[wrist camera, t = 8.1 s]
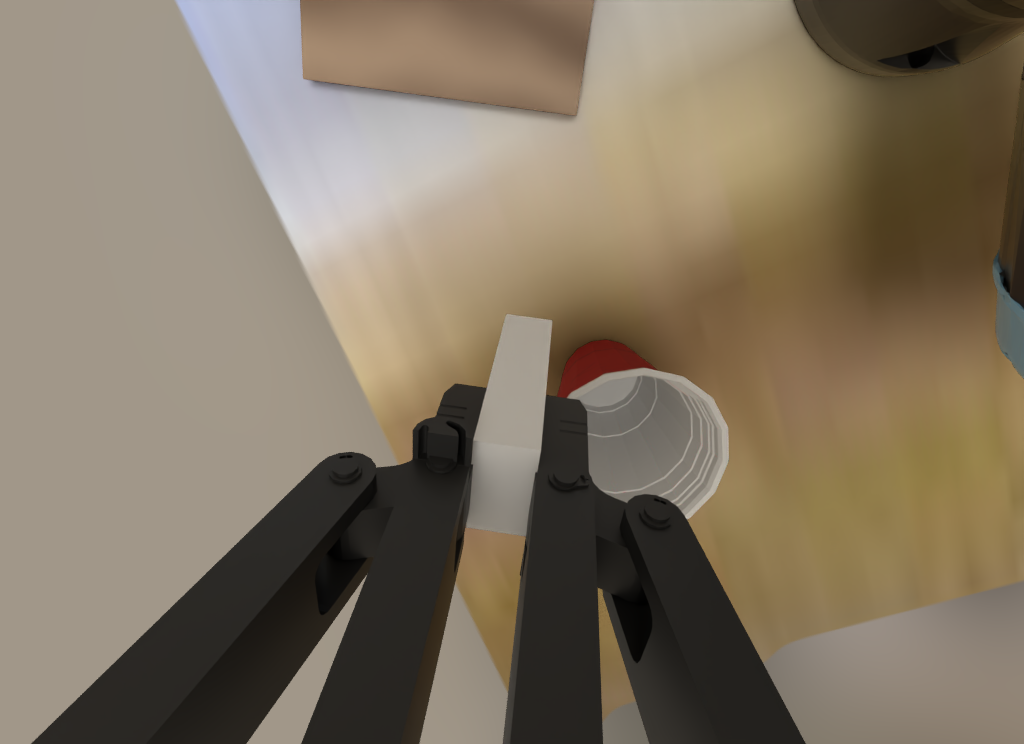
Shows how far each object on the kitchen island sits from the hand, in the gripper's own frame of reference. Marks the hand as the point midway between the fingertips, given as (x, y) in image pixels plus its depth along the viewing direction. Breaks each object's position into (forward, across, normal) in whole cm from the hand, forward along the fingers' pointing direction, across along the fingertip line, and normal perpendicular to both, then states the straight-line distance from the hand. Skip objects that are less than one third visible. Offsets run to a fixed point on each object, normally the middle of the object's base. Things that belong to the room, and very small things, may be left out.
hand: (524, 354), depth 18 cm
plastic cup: (+20, +6, -12) cm, 24 cm away
